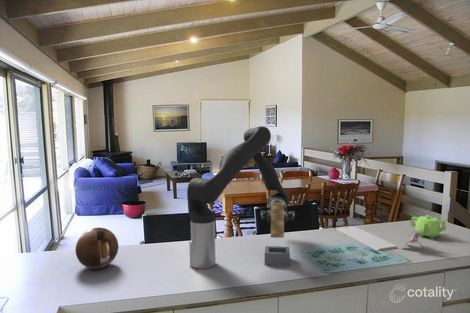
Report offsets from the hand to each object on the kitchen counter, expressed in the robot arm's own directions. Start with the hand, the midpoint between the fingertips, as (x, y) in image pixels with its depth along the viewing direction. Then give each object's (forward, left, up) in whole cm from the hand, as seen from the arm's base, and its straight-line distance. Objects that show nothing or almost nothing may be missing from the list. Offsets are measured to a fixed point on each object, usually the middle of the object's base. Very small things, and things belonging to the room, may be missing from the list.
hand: (277, 220), depth 135 cm
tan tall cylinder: (0, +3, -7) cm, 7 cm away
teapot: (+70, +42, -17) cm, 83 cm away
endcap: (0, +3, -17) cm, 17 cm away
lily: (+57, +24, -17) cm, 65 cm away
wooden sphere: (-67, -10, -17) cm, 70 cm away
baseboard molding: (+39, +35, -18) cm, 55 cm away
